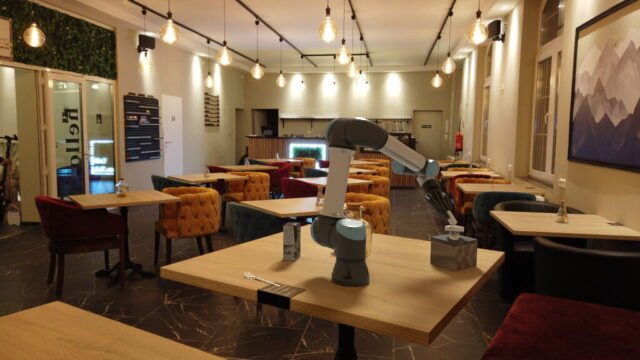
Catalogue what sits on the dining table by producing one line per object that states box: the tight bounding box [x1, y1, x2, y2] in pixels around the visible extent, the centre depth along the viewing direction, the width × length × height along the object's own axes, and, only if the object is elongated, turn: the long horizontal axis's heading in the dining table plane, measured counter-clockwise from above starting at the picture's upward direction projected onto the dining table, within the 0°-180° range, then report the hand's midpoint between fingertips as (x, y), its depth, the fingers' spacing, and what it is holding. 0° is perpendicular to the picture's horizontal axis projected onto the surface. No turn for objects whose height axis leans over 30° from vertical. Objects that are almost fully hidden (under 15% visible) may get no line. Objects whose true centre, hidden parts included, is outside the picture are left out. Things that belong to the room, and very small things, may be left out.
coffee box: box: [282, 221, 302, 262], centre depth 210 cm, size 9×6×16 cm
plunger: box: [444, 224, 465, 240], centre depth 201 cm, size 8×8×13 cm
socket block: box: [429, 233, 479, 272], centre depth 201 cm, size 14×14×12 cm
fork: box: [243, 271, 281, 288], centre depth 178 cm, size 3×20×2 cm, turn 50°
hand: (454, 224), depth 200 cm, fingers closed
